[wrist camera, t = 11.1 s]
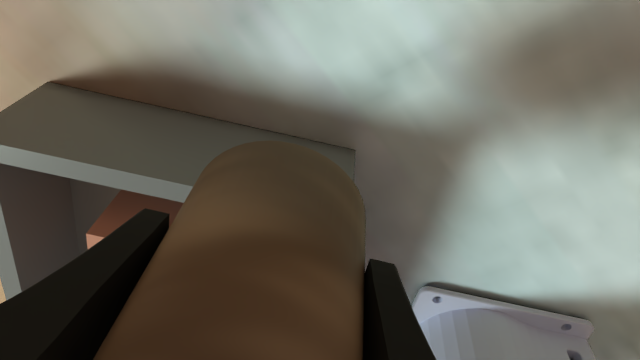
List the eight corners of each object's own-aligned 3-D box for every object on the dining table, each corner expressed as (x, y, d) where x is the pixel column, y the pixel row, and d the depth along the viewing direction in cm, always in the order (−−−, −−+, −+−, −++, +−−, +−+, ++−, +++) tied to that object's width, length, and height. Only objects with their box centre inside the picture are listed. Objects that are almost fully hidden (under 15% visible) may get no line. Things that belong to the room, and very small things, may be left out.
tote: (355, 150, 20) (351, 220, 16) (290, 378, 30) (277, 458, 26) (47, 81, 20) (-38, 136, 16) (83, 335, 30) (36, 410, 25)
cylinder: (387, 165, 12) (402, 437, 6) (342, 294, 15) (323, 566, 9) (198, 120, 12) (28, 357, 6) (188, 260, 15) (65, 514, 9)
